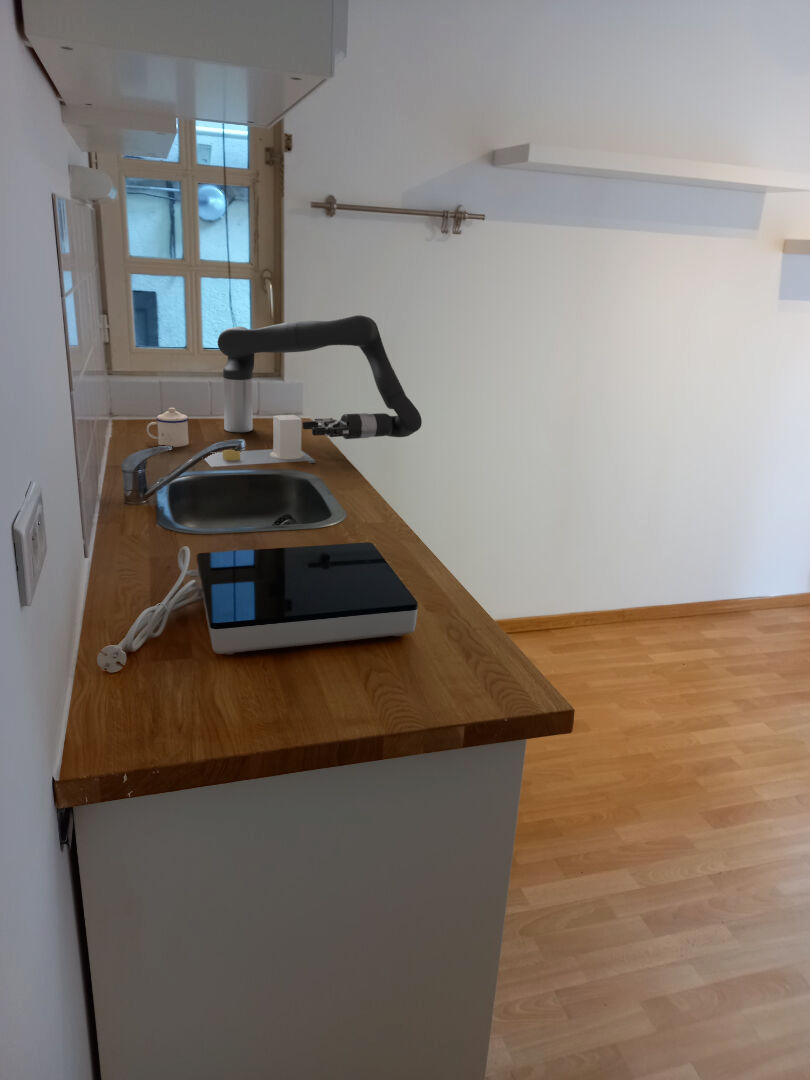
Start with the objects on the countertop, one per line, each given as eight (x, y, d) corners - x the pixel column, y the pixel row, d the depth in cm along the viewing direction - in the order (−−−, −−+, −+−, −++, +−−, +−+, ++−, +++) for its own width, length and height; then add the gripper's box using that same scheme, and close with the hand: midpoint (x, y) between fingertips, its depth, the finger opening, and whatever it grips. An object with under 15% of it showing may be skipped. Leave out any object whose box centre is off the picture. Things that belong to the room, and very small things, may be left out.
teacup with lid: (190, 443, 239) (189, 405, 235) (188, 450, 231) (186, 411, 227) (149, 442, 237) (147, 404, 233) (146, 450, 229) (143, 410, 224)
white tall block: (273, 452, 230) (273, 415, 226) (294, 451, 233) (294, 414, 229) (280, 457, 224) (280, 420, 221) (301, 456, 227) (301, 419, 223)
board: (199, 456, 225) (198, 452, 224) (298, 451, 238) (298, 447, 237) (211, 470, 212) (211, 466, 212) (315, 463, 225) (315, 459, 225)
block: (222, 457, 222) (222, 446, 221) (236, 456, 224) (236, 446, 223) (226, 460, 219) (225, 450, 218) (240, 459, 221) (239, 449, 220)
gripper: (349, 409, 240) (299, 411, 233) (368, 418, 228) (315, 420, 221) (349, 433, 243) (299, 435, 236) (367, 443, 231) (315, 446, 224)
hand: (307, 428), depth 228 cm, fingers open, 8 cm apart
